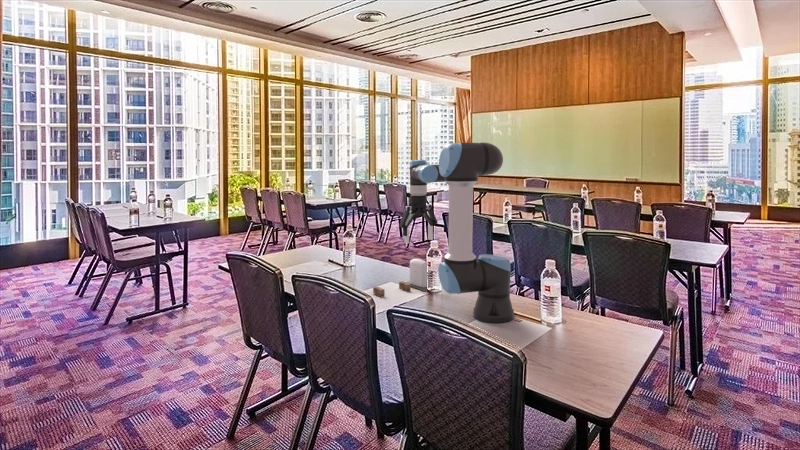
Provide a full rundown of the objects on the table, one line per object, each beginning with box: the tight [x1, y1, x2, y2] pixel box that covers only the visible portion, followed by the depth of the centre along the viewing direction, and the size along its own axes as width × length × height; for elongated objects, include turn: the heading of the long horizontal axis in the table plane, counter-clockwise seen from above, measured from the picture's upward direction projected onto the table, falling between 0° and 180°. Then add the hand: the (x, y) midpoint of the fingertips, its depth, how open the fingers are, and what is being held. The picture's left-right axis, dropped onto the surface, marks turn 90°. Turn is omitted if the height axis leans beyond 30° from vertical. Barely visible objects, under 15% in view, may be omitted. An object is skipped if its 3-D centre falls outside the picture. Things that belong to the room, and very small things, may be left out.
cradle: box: [372, 281, 412, 297], centre depth 221 cm, size 6×16×3 cm, turn 126°
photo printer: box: [409, 258, 428, 288], centre depth 229 cm, size 10×4×12 cm, turn 36°
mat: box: [405, 281, 428, 292], centre depth 230 cm, size 16×6×1 cm, turn 36°
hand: (418, 241), depth 227 cm, fingers open, 13 cm apart
